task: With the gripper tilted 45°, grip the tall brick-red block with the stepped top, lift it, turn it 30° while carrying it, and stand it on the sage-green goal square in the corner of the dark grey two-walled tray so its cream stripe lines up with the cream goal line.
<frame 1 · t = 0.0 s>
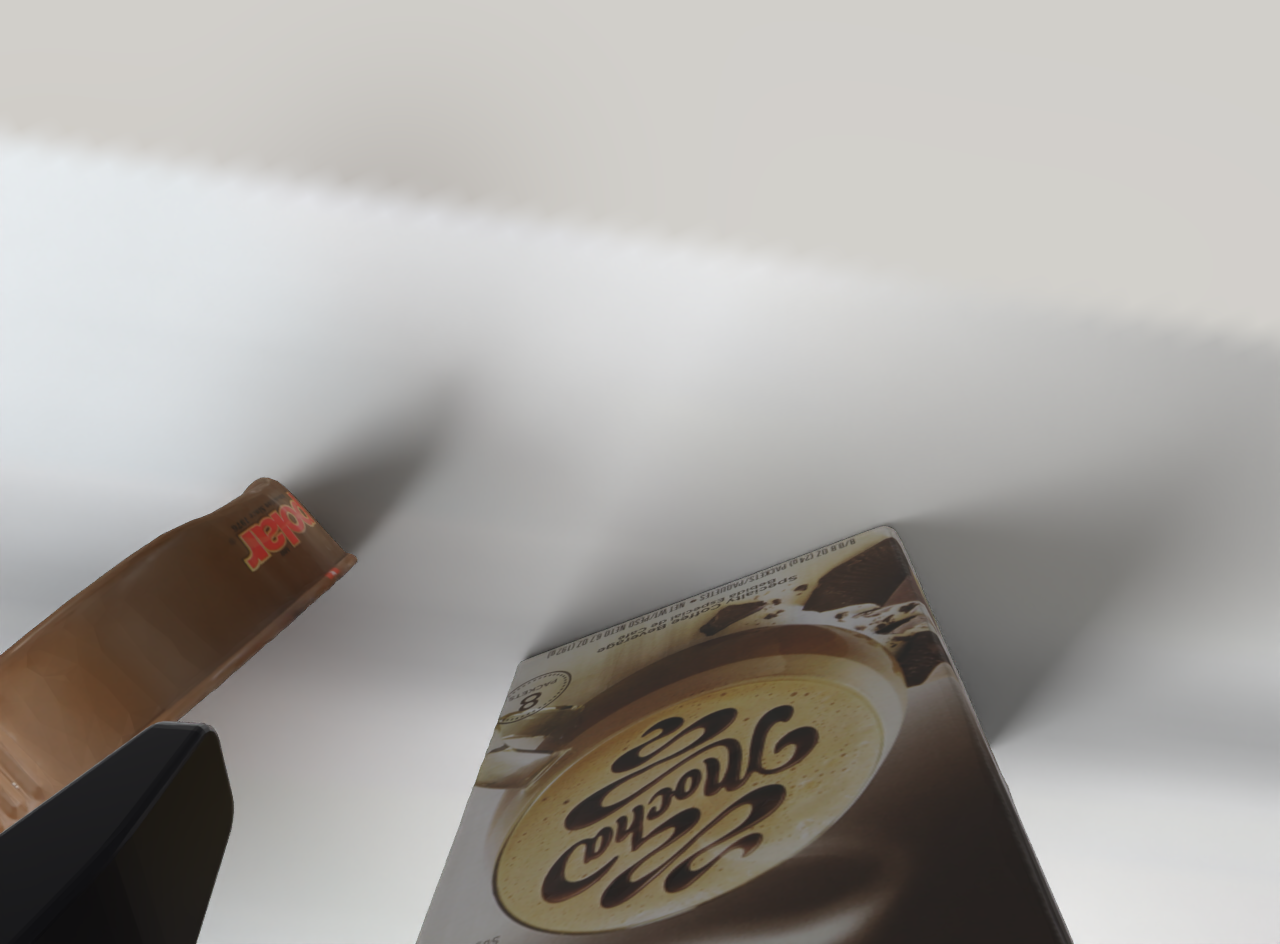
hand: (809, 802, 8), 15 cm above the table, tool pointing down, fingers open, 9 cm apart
brown glossy long piece: (138, 655, 26), on the table
coffee box: (747, 702, 26), on the table
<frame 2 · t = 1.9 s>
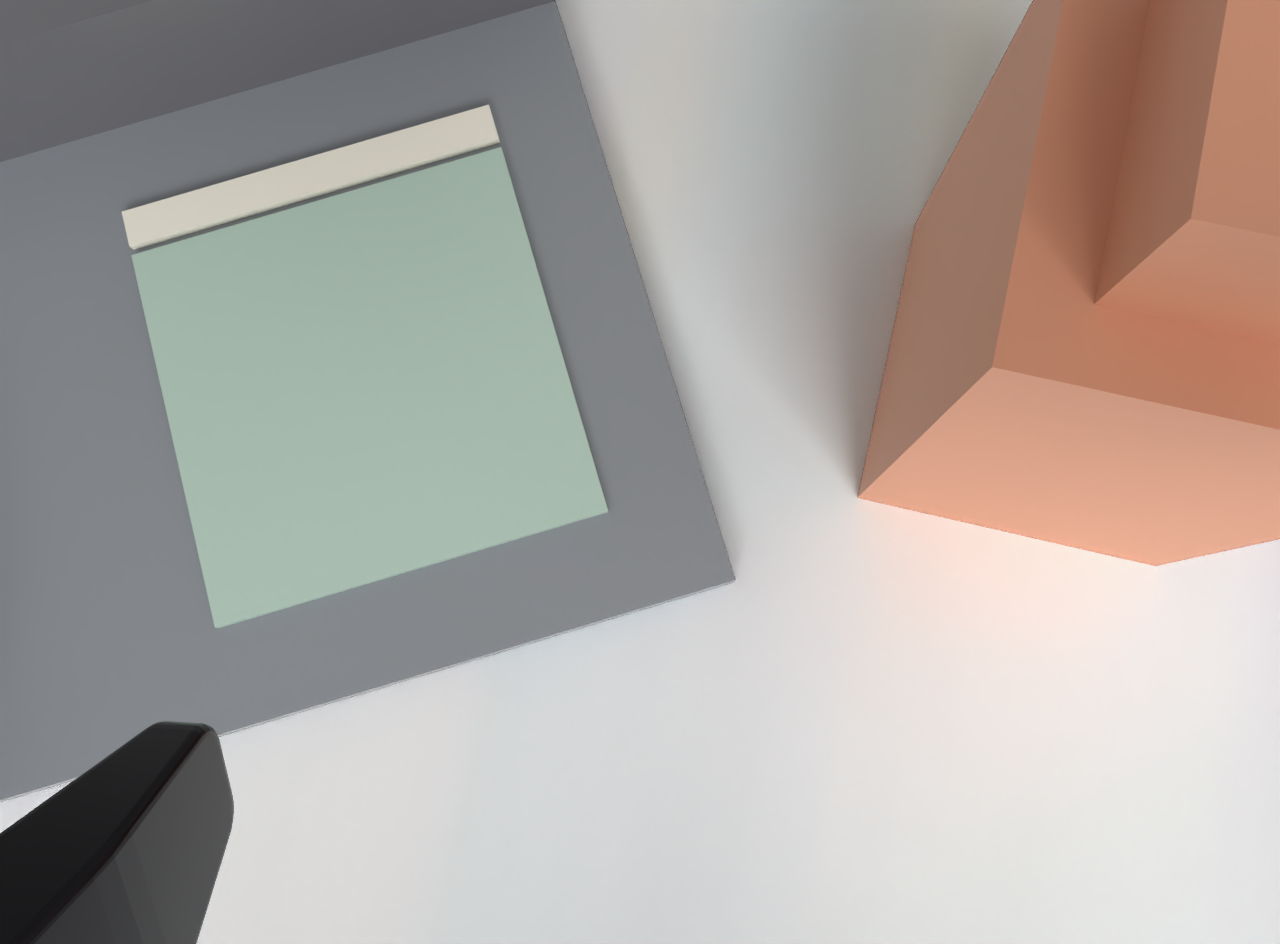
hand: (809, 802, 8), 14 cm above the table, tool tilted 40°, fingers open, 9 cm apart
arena: (373, 388, 23), on the table
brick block: (1031, 389, 23), on the table
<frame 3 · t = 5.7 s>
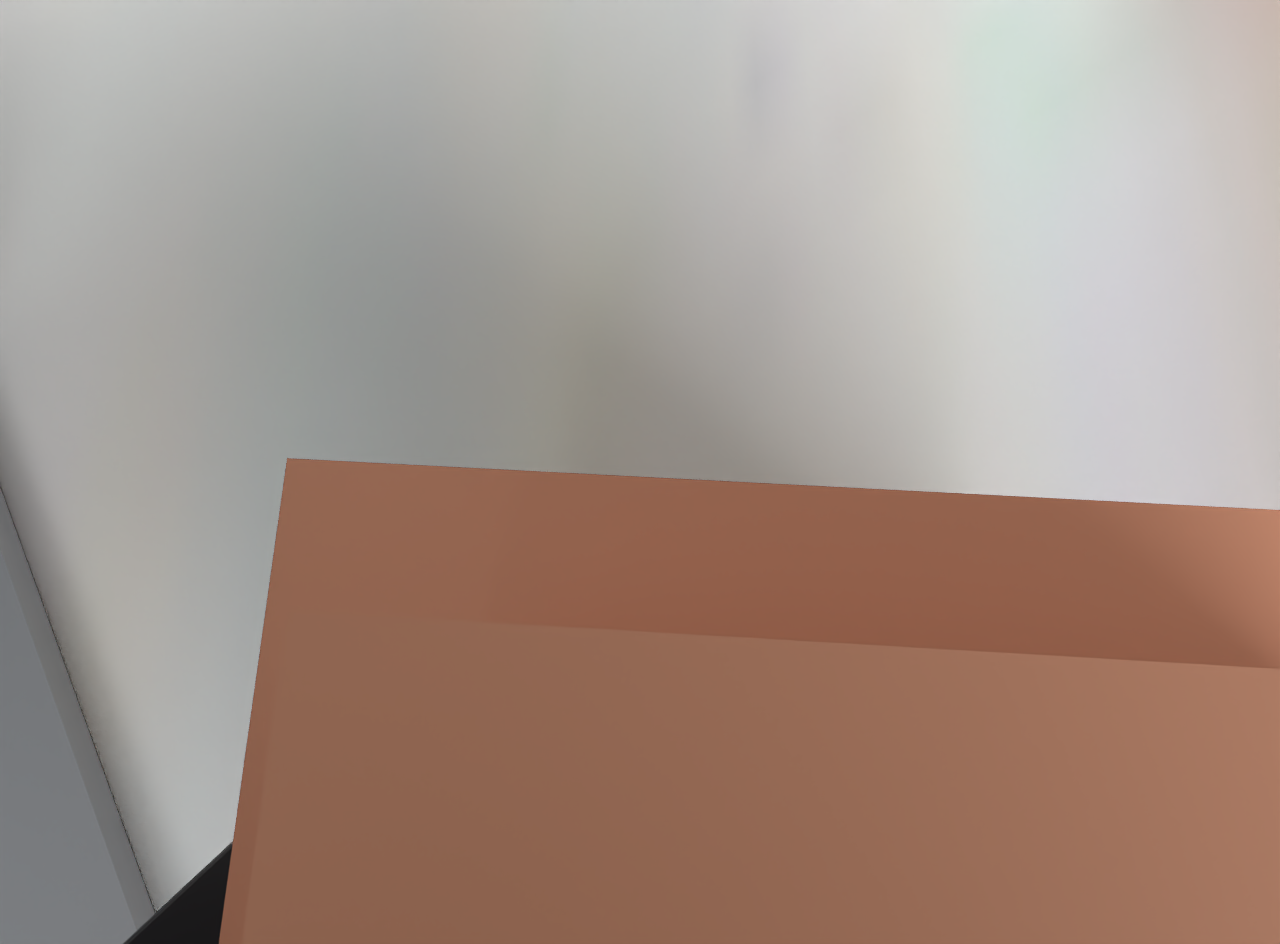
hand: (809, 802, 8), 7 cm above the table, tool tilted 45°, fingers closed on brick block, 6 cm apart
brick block: (747, 891, 14), on the table, touching gripper
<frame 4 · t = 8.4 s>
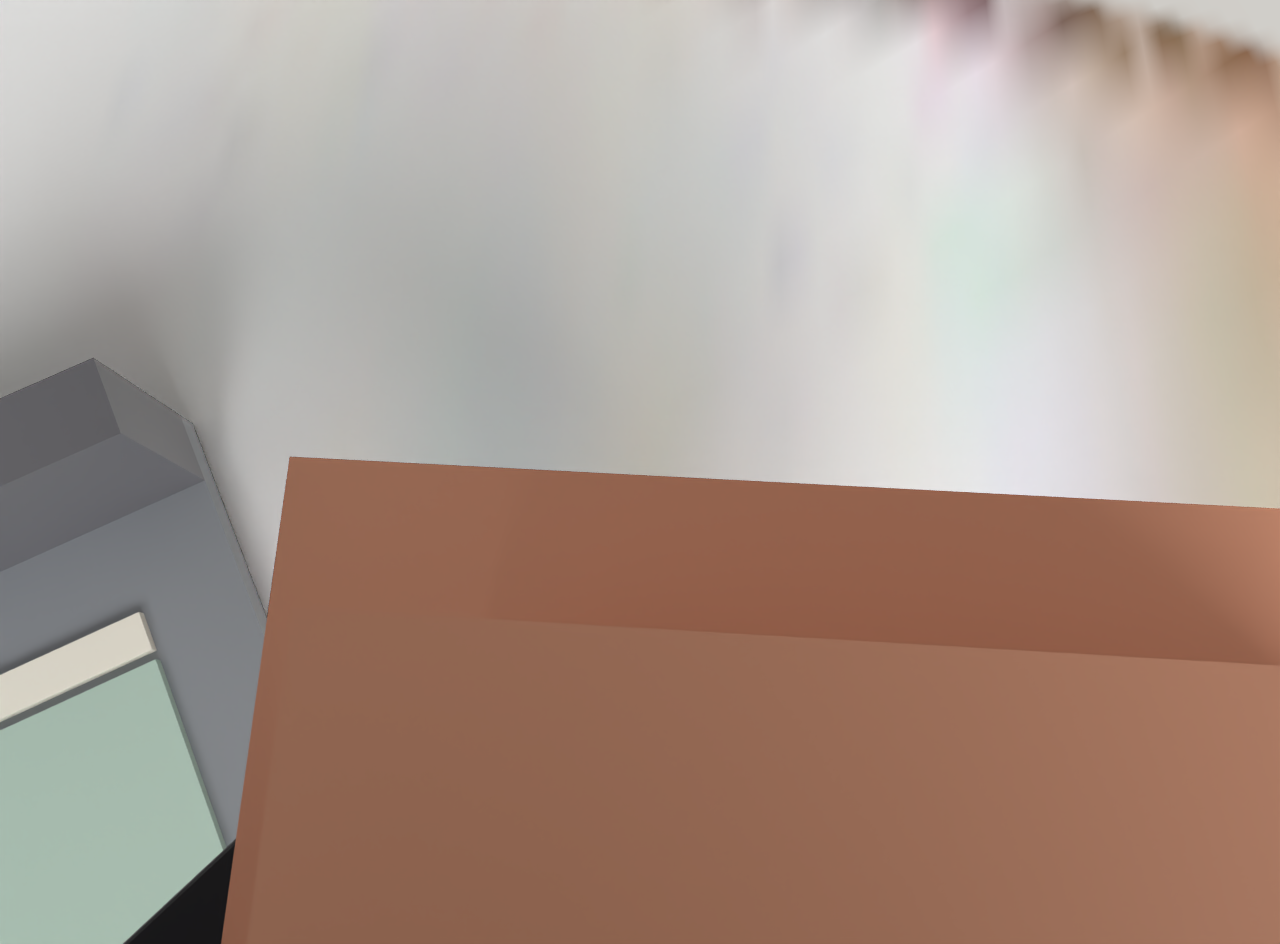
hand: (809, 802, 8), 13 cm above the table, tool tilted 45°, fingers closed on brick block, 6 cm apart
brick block: (748, 890, 14), point 7 cm above the table, touching gripper
when the fingers open (8 cm above the table, at t = 11.6 s): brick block stays where it is, resting on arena.
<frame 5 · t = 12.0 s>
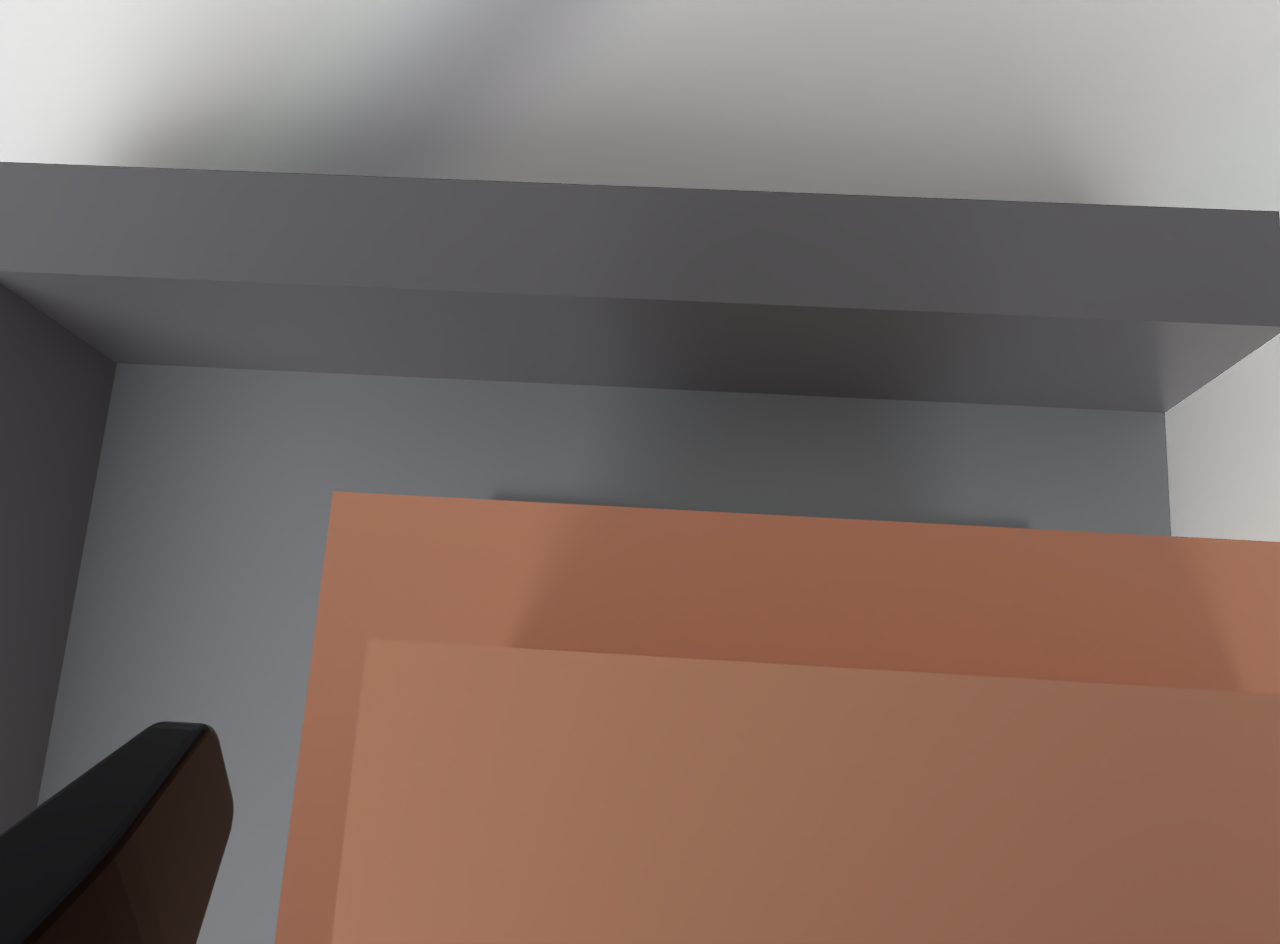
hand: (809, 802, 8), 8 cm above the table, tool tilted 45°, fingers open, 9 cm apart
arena: (740, 876, 16), on the table
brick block: (745, 883, 15), point 1 cm above the table, touching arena
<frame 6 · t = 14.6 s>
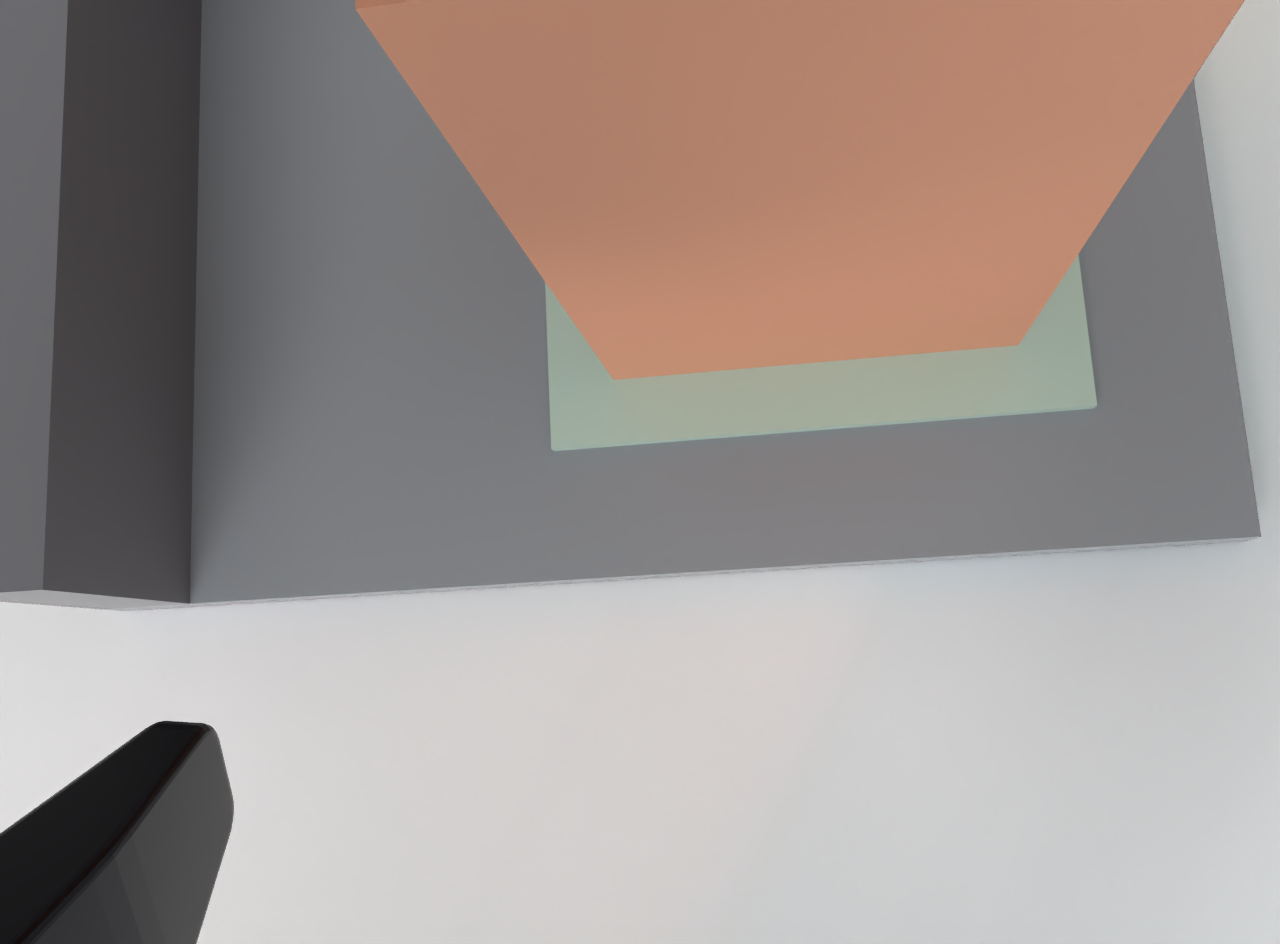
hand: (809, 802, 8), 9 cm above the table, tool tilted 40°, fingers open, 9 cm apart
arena: (795, 195, 18), on the table
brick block: (796, 174, 17), point 1 cm above the table, touching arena
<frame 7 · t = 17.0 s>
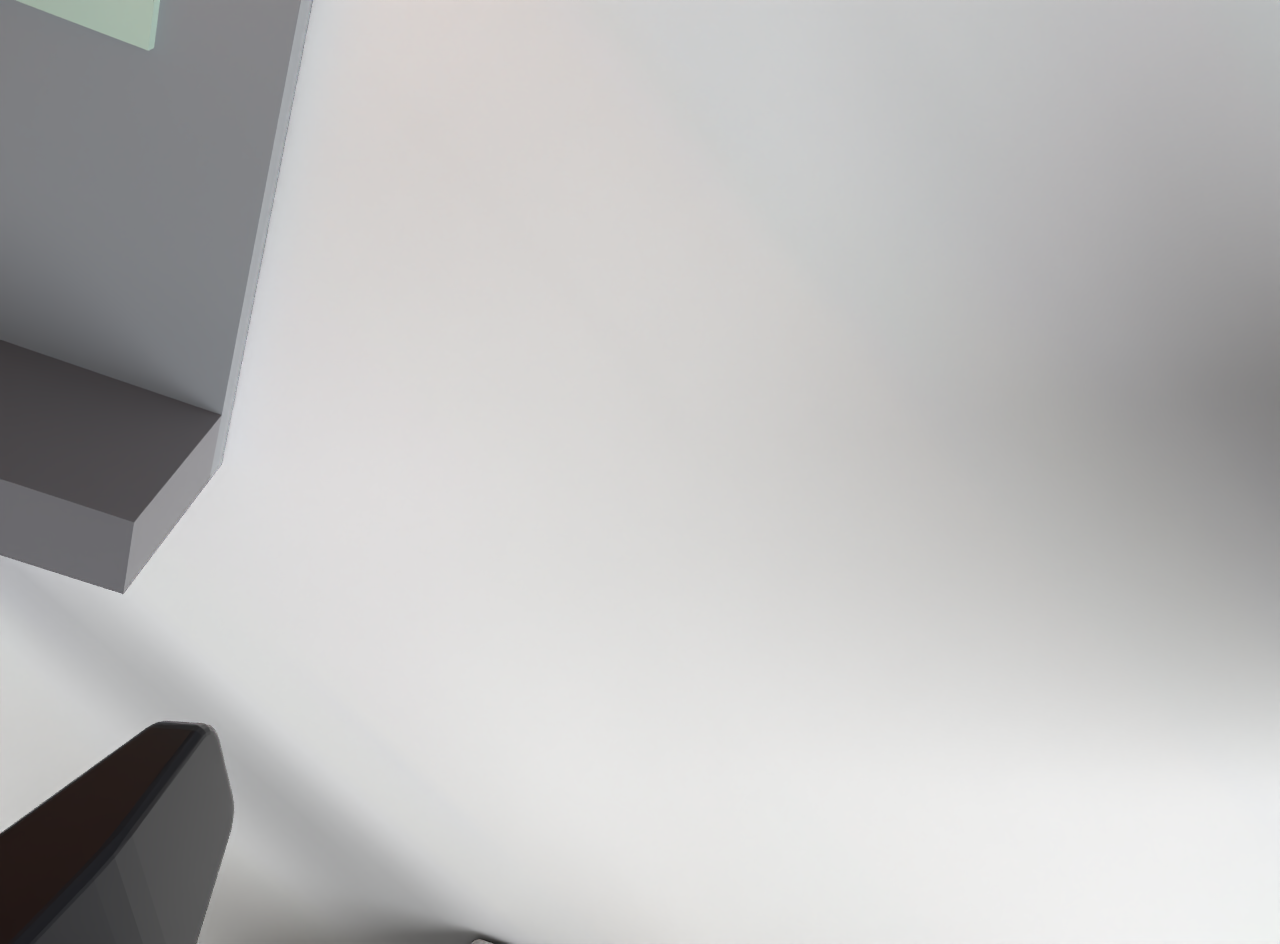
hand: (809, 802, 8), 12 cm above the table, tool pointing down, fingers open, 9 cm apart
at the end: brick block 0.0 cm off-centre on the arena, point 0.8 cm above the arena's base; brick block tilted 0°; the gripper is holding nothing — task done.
